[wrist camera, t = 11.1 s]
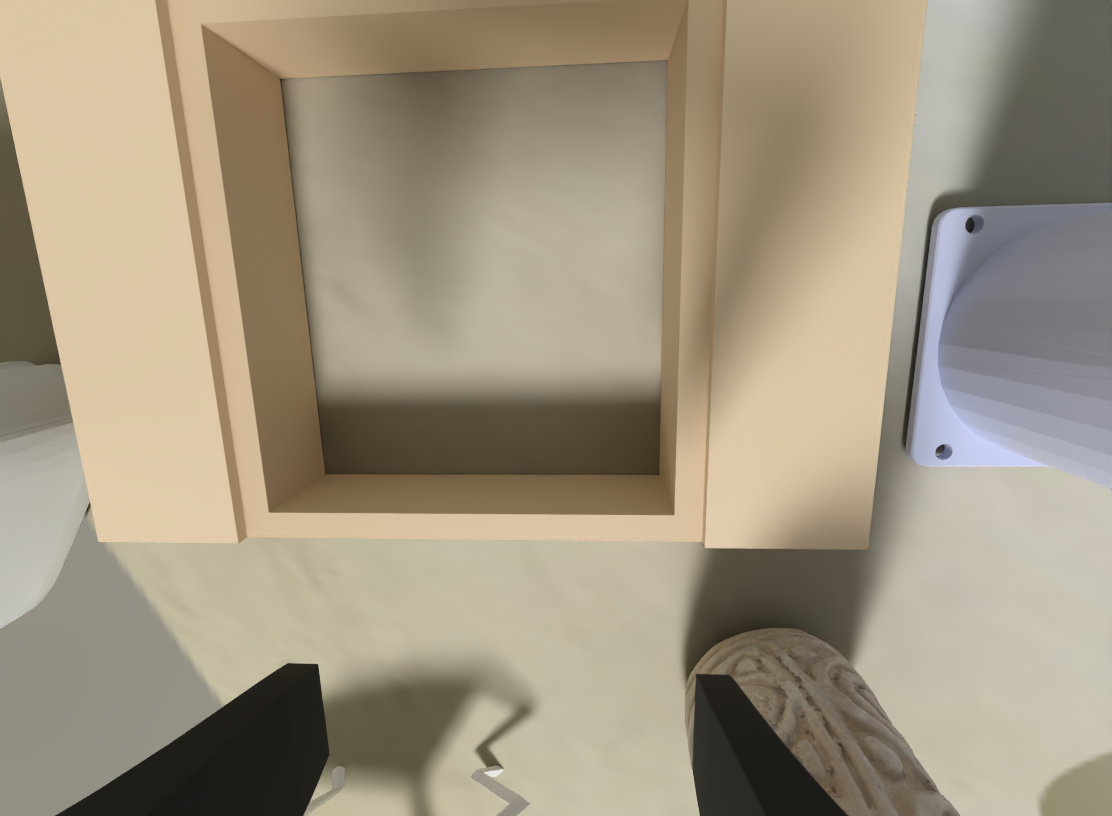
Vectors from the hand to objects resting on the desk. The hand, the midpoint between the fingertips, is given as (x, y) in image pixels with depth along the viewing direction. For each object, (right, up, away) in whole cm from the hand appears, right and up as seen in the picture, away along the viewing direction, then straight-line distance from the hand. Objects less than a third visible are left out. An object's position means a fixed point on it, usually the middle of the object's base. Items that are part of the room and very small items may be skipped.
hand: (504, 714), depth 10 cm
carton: (-2, +10, +8) cm, 13 cm away
